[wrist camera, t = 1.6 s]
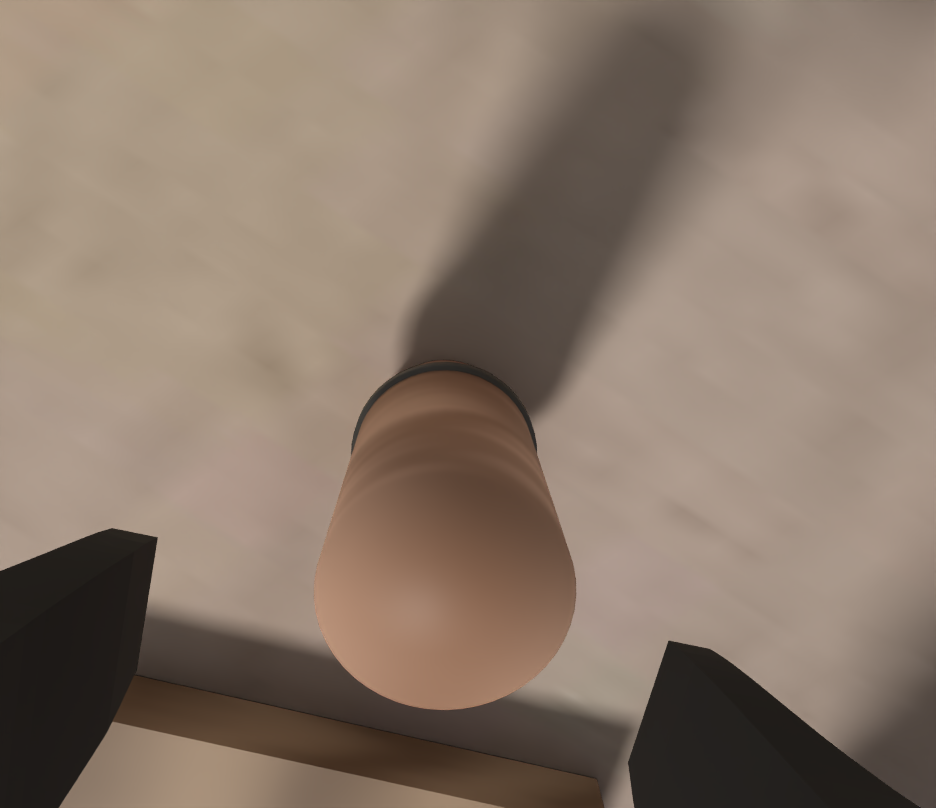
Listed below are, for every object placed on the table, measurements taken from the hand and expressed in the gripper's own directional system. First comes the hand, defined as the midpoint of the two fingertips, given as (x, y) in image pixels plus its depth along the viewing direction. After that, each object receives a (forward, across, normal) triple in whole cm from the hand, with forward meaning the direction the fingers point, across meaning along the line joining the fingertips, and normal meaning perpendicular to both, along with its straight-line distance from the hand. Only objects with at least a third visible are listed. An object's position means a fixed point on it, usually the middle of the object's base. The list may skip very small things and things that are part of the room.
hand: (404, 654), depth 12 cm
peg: (+10, 0, 0) cm, 10 cm away
